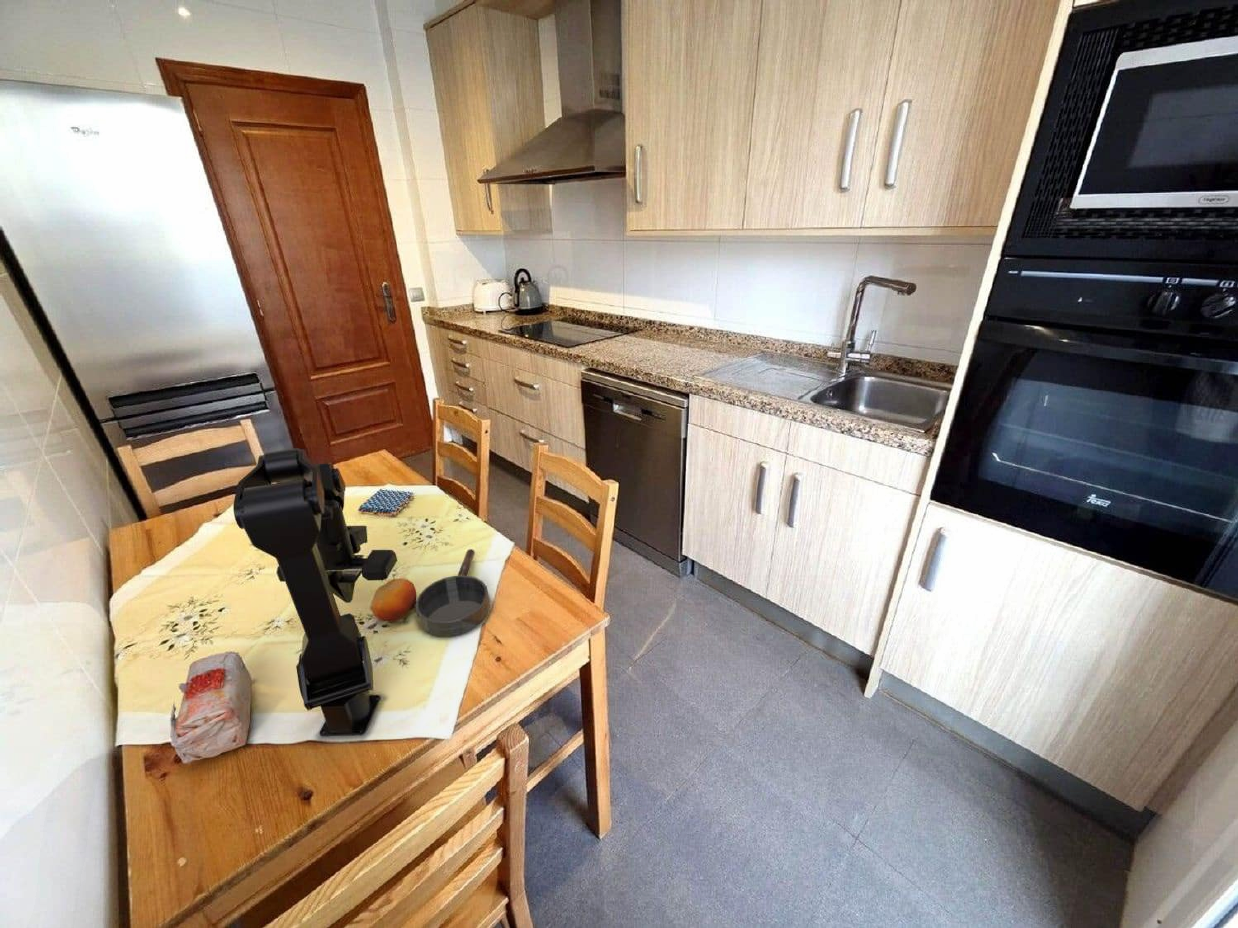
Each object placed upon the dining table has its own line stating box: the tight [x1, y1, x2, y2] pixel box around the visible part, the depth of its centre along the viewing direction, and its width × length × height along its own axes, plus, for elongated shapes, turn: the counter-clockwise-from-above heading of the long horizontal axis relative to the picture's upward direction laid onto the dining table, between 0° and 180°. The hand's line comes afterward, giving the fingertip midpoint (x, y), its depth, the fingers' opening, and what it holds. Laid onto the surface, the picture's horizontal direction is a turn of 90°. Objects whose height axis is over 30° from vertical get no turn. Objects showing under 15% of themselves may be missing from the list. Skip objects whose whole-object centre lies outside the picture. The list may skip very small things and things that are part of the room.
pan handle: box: [457, 548, 476, 576], centre depth 104 cm, size 10×2×2 cm, turn 3°
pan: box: [415, 575, 491, 638], centre depth 95 cm, size 13×13×4 cm
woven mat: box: [357, 488, 415, 517], centre depth 130 cm, size 10×11×2 cm
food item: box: [169, 651, 252, 765], centre depth 72 cm, size 14×8×10 cm, turn 31°
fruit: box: [370, 577, 417, 624], centre depth 94 cm, size 8×8×8 cm
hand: (349, 601), depth 94 cm, fingers closed
